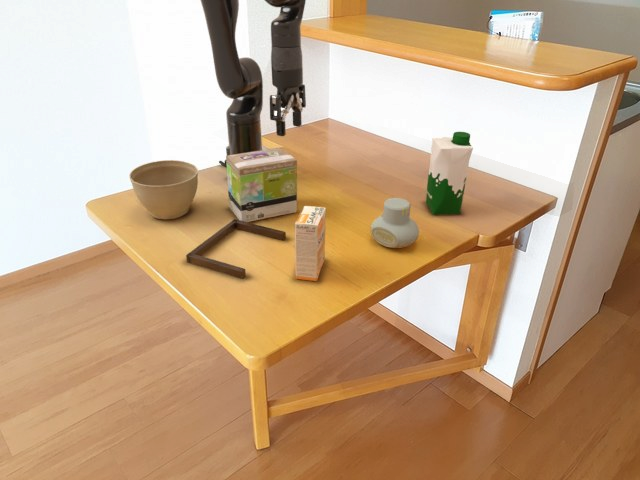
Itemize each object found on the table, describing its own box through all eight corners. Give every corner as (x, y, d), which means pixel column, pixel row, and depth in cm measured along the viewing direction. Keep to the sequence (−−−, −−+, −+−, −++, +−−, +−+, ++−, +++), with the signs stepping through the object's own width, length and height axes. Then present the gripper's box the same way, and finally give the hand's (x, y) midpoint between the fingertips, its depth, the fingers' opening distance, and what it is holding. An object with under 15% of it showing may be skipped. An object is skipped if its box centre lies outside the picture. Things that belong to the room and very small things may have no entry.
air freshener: (364, 240, 119) (366, 201, 114) (384, 227, 124) (387, 190, 119) (403, 257, 113) (407, 217, 108) (423, 243, 118) (428, 204, 113)
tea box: (242, 225, 124) (238, 168, 117) (229, 208, 132) (224, 154, 125) (298, 212, 130) (297, 158, 123) (282, 197, 138) (280, 145, 131)
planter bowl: (160, 233, 121) (153, 191, 115) (124, 212, 130) (116, 172, 124) (215, 211, 131) (211, 171, 125) (178, 192, 140) (173, 155, 135)
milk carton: (464, 215, 130) (477, 140, 120) (430, 216, 129) (440, 140, 119) (454, 200, 138) (465, 128, 127) (421, 201, 137) (429, 128, 127)
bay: (186, 262, 110) (185, 255, 109) (234, 225, 124) (234, 218, 124) (242, 279, 105) (242, 271, 104) (286, 238, 119) (285, 231, 118)
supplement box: (317, 282, 104) (318, 225, 97) (295, 279, 105) (294, 223, 98) (325, 260, 111) (326, 206, 104) (304, 258, 112) (303, 204, 105)
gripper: (287, 58, 130) (289, 121, 138) (257, 69, 119) (262, 137, 127) (314, 61, 127) (314, 124, 135) (286, 72, 116) (288, 141, 124)
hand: (289, 130), depth 131 cm, fingers open, 8 cm apart
